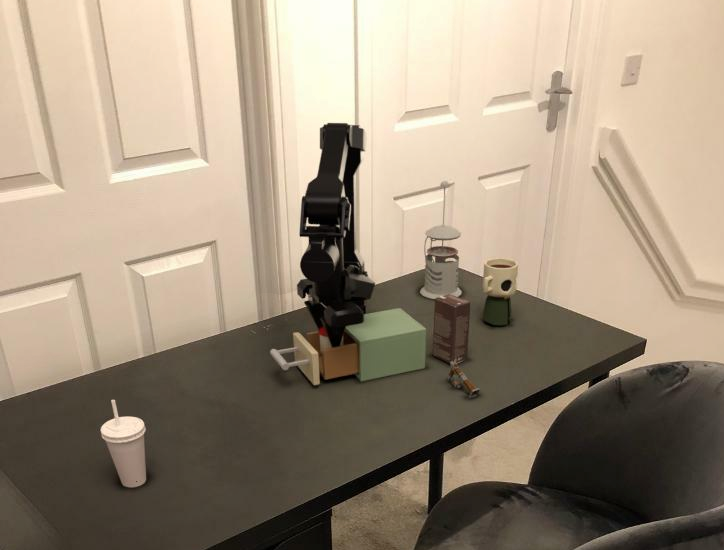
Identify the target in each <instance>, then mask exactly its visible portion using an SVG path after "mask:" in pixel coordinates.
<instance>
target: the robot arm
mask: <svg viewBox="0 0 724 550" xmlns="http://www.w3.org/2000/svg"><path fill="white" fill-rule="evenodd" d="M367 146H368V135H367V131H366V129H364V127H363V128H362V127H361V125H360V124H349V123H348V122H327V123H326V124H325V123H324V124H323V125H322V126H321V127H319V149H320V150H321V153H320V158H319V163H318V170H317V173H316V177H314V178H313V179H312V180H311V181H309V182H308V183H307V187H306V190H305V194H304V195H302V197H301V203H300V217H299V218H300V219H299V220H300V221H299V238H307V239H308V243H307V244H308V245H307V247H306V249H305V250H304V252H303V255H302V256H301V258H300V262H299V267H300V271H301V273H302V275H303V276H304V277H305V278H302V279H300V280H299V281H298V283H297V284H296V292H297V293H296V294H297V296H298V297H300V298H301V299H306V297H307V300H305V301H304V302H303V303H304V305H305V307H306V310H308V312H309V314H310V316H311V318H312V320H313V322H314V324H315V326H316V328H317V331H318V330H319V328H321V327H324V329H325V332H326V334H327V337H328V339H329V342H330V344H331V346H332V348H333V347H338V346H340V343H341V340H342V337H343V333H344V330H345V328H346V326H350V325H355V324H361V323H363V322H364V314H367V307H366V306H367V305H366V303H365V301H370V300H371V298H372V296H373V292H374V289H375V286H376V282H375V281H374V280H373V279H371V278H370V277H369V274H368V270H366V269H365V260H364V258H363V257H362V255H361V254H360V252H359V250H358V246H357V245H358V243H357V240H358V239H357V238H358V237H357V172H358V170H359V169H360V166H361V164H362V162H363V161H364V159H365V157H364V156H365V152H367V148H368V147H367ZM307 223H308V225H307Z"/></svg>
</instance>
